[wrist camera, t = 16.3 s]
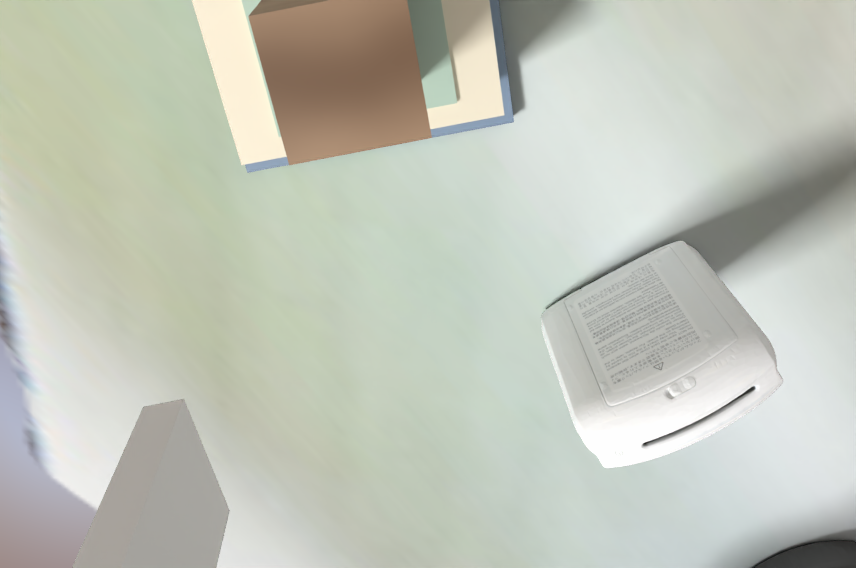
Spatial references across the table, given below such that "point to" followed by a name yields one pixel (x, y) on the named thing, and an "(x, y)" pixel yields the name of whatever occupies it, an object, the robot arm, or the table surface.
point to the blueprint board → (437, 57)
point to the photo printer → (657, 357)
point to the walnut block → (340, 75)
